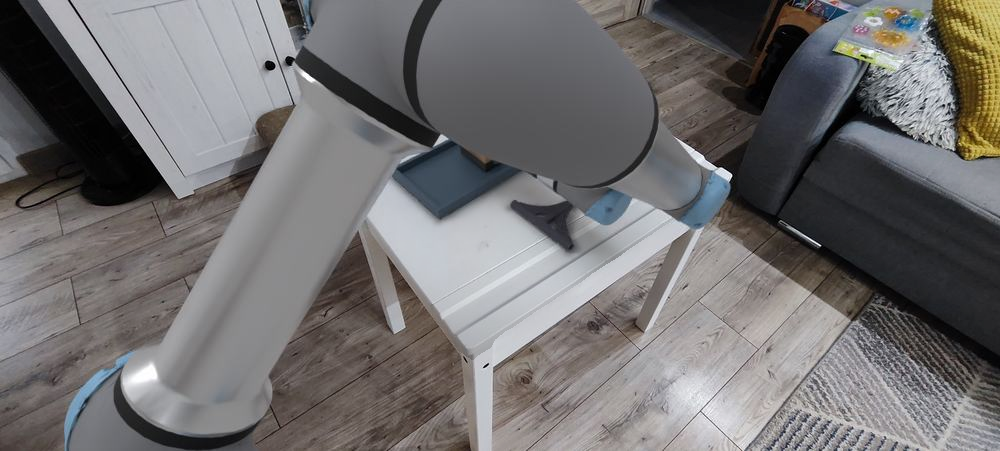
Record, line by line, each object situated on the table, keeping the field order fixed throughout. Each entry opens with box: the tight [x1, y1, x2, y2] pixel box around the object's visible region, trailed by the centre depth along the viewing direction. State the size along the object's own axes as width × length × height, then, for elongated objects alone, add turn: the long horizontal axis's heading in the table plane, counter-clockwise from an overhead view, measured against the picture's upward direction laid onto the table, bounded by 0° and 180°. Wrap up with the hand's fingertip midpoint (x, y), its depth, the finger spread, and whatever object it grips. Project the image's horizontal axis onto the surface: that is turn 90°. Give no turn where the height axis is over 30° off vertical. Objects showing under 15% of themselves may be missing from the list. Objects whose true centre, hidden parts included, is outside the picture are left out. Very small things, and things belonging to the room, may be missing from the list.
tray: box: [391, 138, 522, 220], centre depth 93 cm, size 25×16×2 cm, turn 132°
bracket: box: [510, 199, 575, 252], centre depth 85 cm, size 14×15×3 cm
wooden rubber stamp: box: [460, 146, 501, 172], centre depth 90 cm, size 8×5×14 cm, turn 42°
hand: (463, 104), depth 90 cm, fingers closed on wooden rubber stamp, 3 cm apart
